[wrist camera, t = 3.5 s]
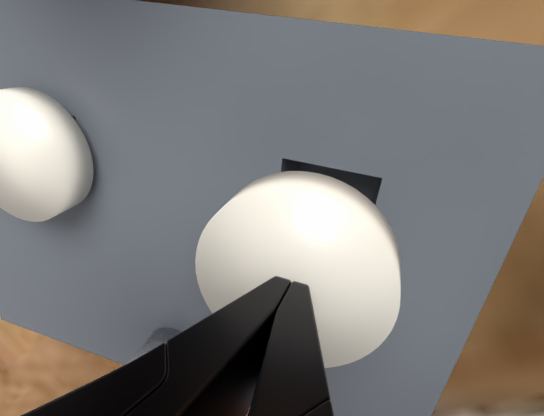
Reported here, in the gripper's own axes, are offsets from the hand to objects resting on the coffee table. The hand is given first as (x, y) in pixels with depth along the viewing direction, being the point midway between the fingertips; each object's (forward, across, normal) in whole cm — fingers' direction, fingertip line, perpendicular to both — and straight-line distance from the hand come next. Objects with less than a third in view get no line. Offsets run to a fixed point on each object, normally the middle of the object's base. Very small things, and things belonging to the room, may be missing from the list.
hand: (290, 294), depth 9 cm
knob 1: (+7, +12, 0) cm, 14 cm away
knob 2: (+5, 0, 0) cm, 5 cm away
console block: (+10, +6, +3) cm, 12 cm away
